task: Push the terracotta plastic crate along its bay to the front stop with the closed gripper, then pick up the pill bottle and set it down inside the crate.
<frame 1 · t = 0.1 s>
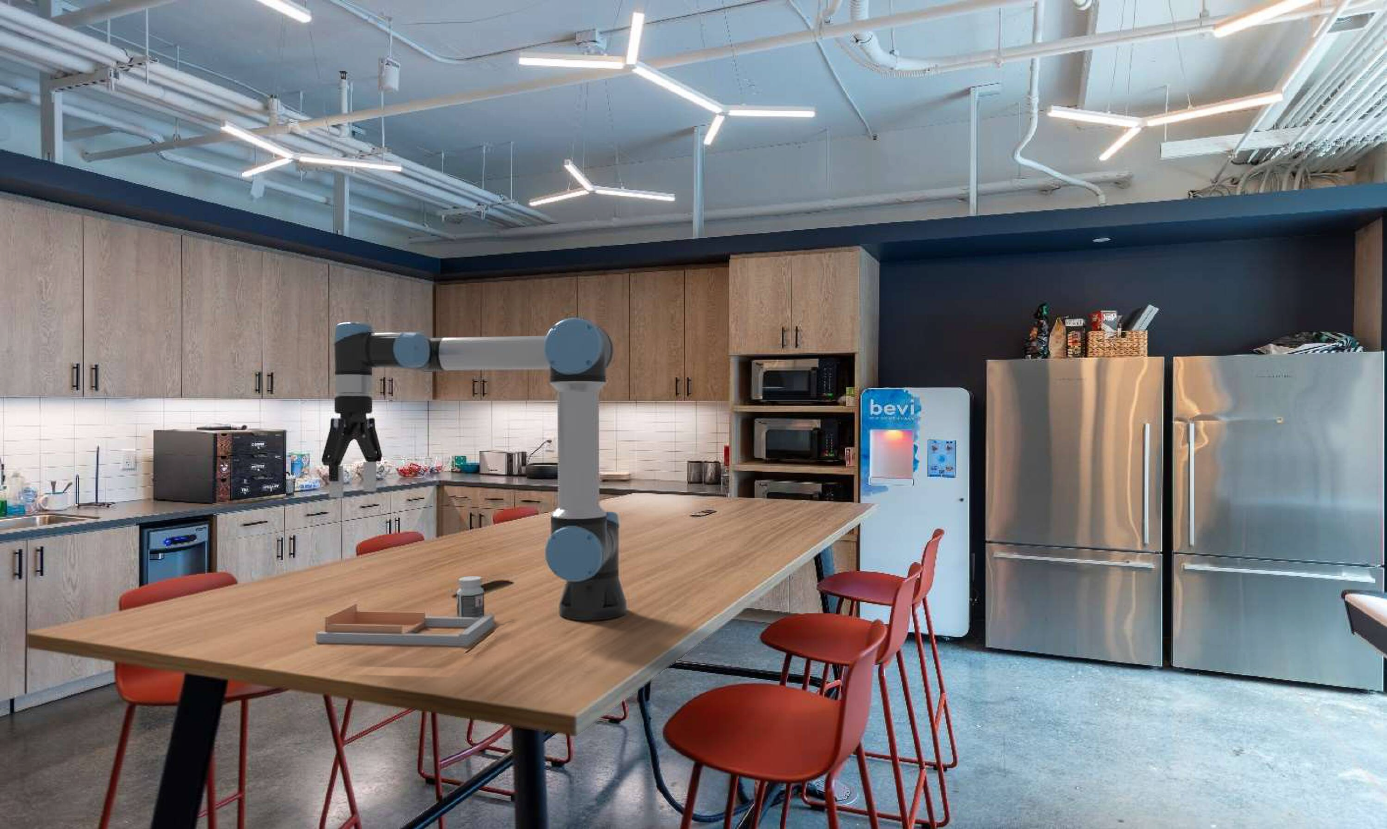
hand: (353, 494, 176), 28 cm above the table, fingers open, 13 cm apart
crate: (376, 621, 163), point 4 cm above the table, slide at 0.0 cm
pill bottle: (470, 625, 175), on the table
bay: (408, 640, 163), on the table
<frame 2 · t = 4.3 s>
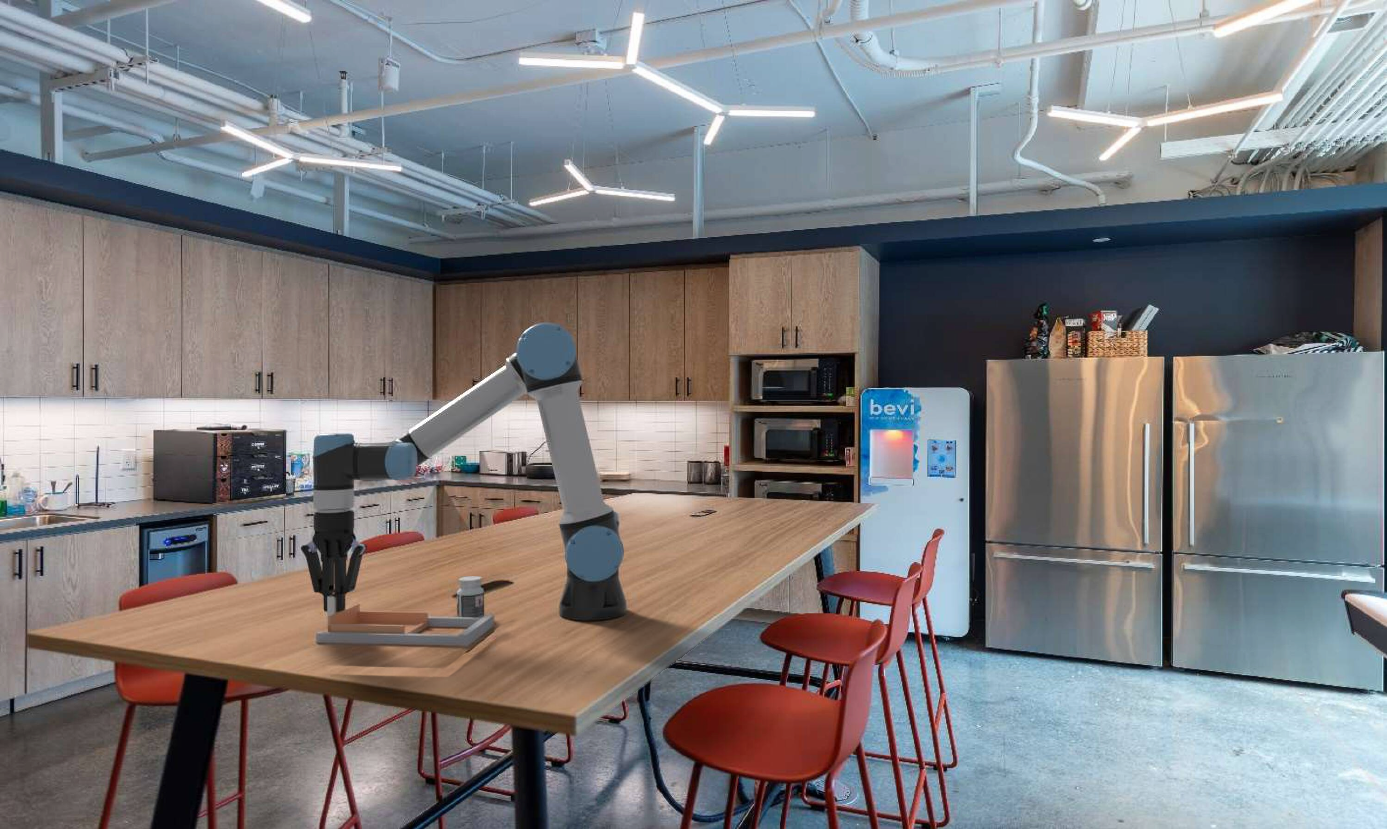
hand: (334, 627, 164), 2 cm above the table, fingers closed
crate: (379, 621, 163), point 4 cm above the table, slide at 0.6 cm, touching gripper
everything else where it was.
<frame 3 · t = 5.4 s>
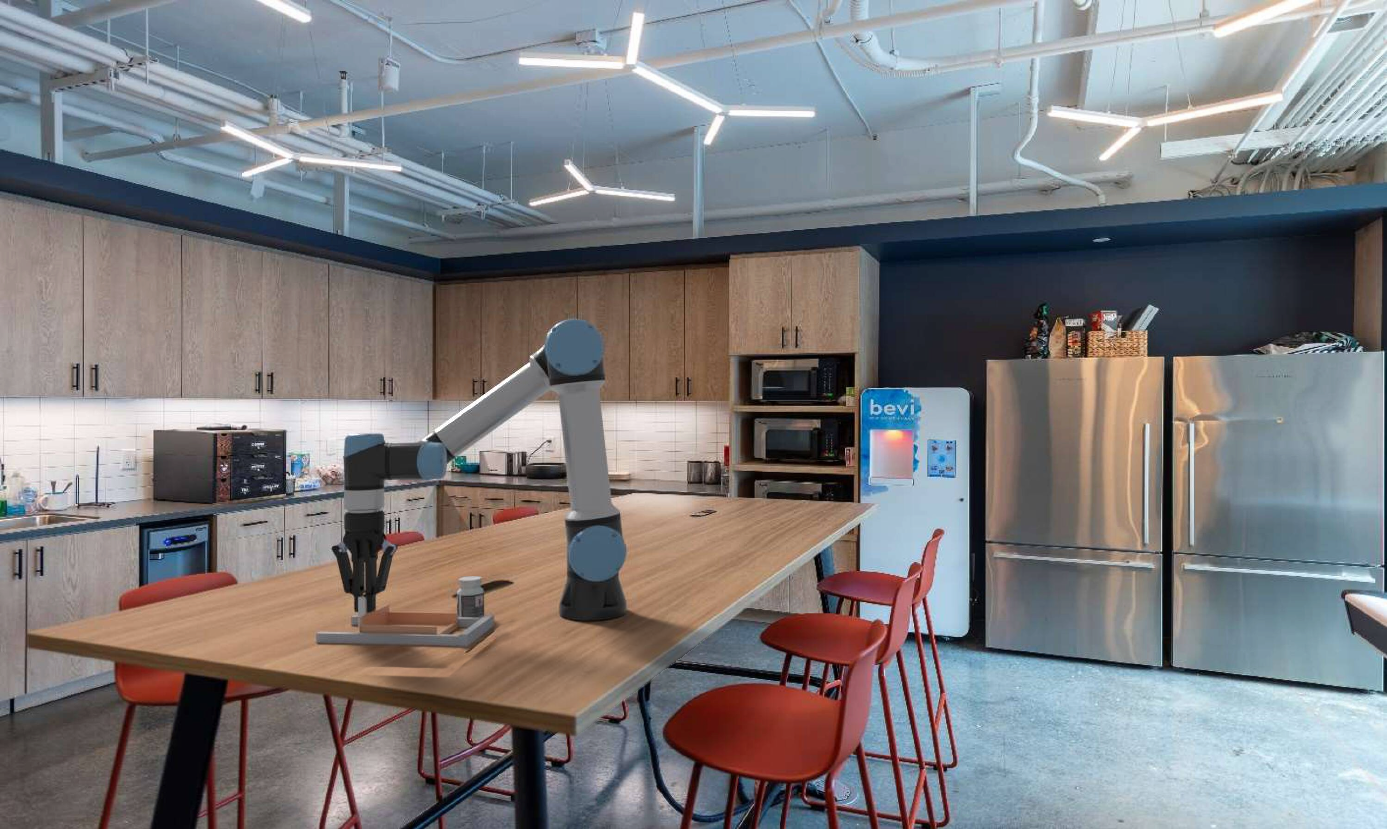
hand: (365, 628, 163), 2 cm above the table, fingers closed
crate: (410, 622, 163), point 4 cm above the table, slide at 7.0 cm, touching gripper
everything else where it was.
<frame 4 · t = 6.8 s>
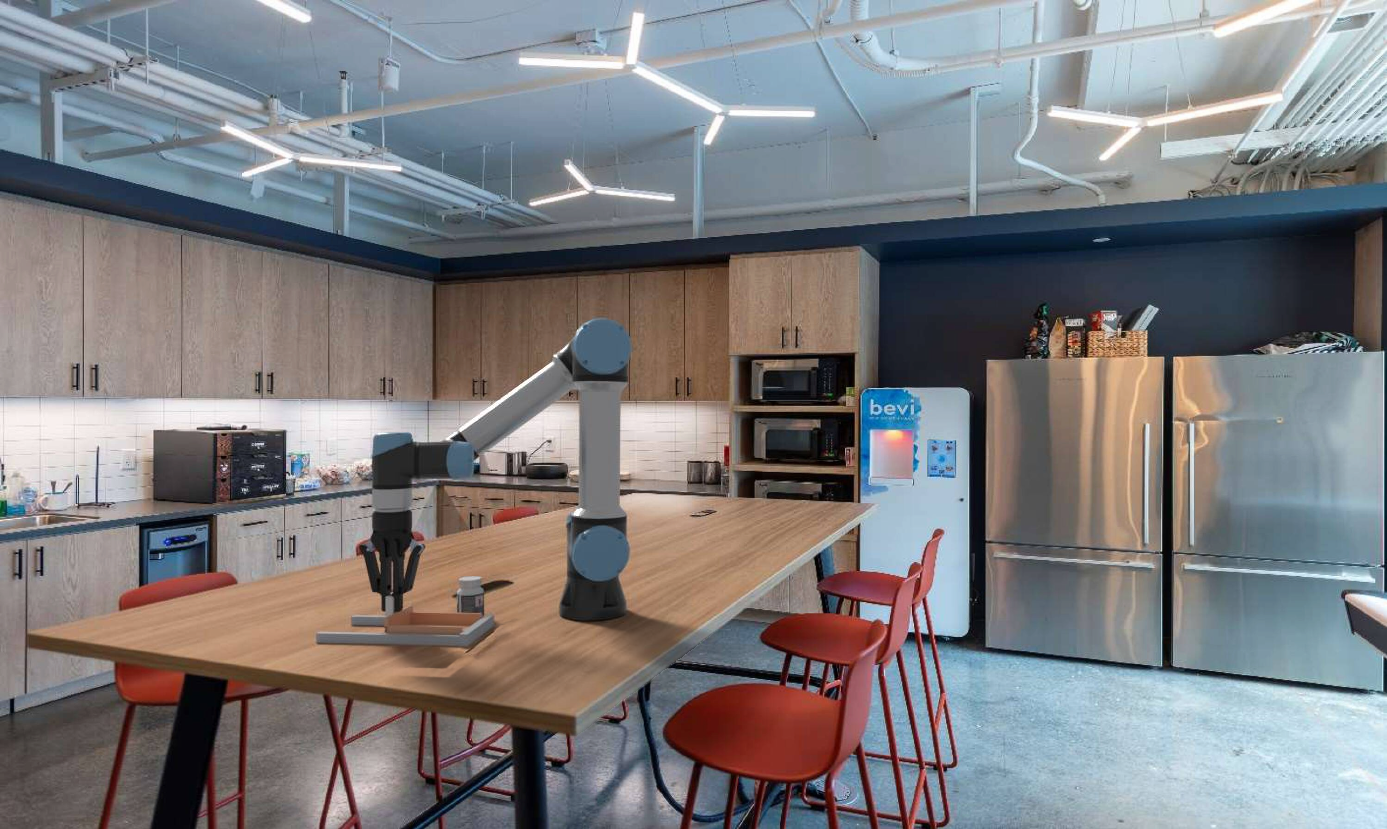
hand: (392, 627, 163), 2 cm above the table, fingers closed
crate: (434, 623, 162), point 4 cm above the table, slide at 12.0 cm, touching gripper
everything else where it was.
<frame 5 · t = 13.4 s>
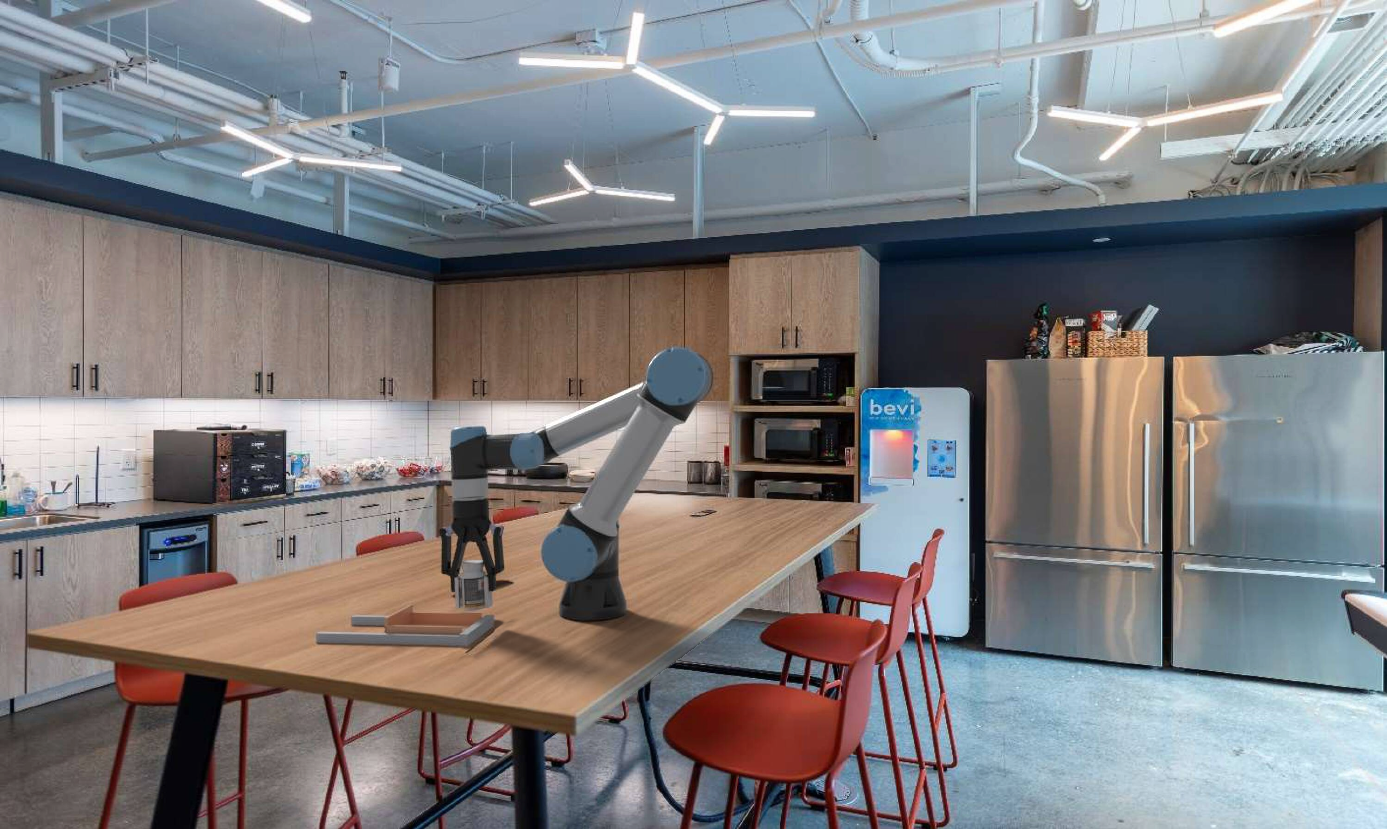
hand: (474, 606, 175), 4 cm above the table, fingers closed on pill bottle, 6 cm apart
crate: (434, 623, 162), point 4 cm above the table, slide at 12.0 cm
pill bottle: (474, 609, 175), point 3 cm above the table, touching gripper
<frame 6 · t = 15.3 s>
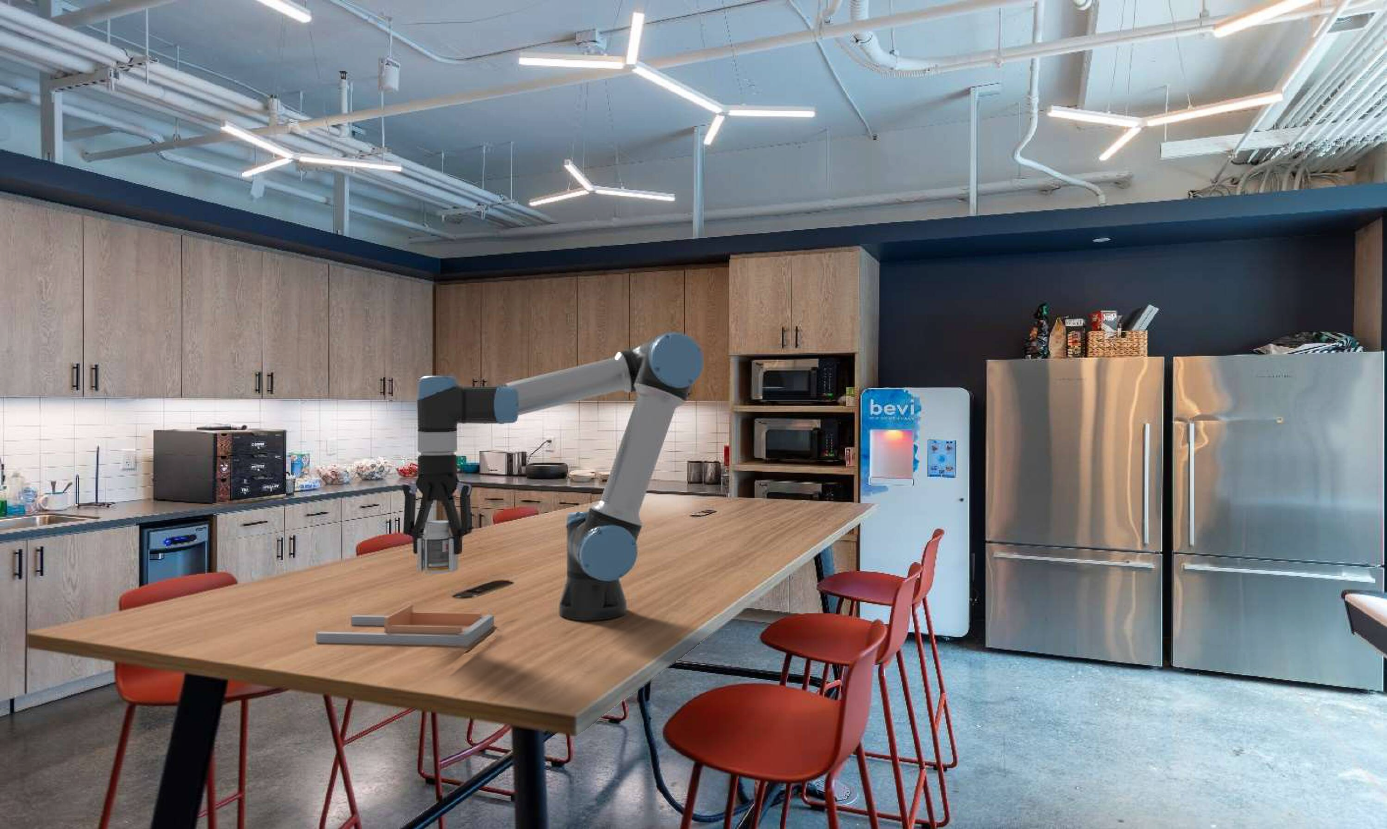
hand: (437, 570, 162), 14 cm above the table, fingers closed on pill bottle, 6 cm apart
pill bottle: (437, 572, 162), point 14 cm above the table, touching gripper
everything else where it was.
when the fingers open (3 cm above the table, at t = 17.4 s): pill bottle stays where it is, resting on crate.
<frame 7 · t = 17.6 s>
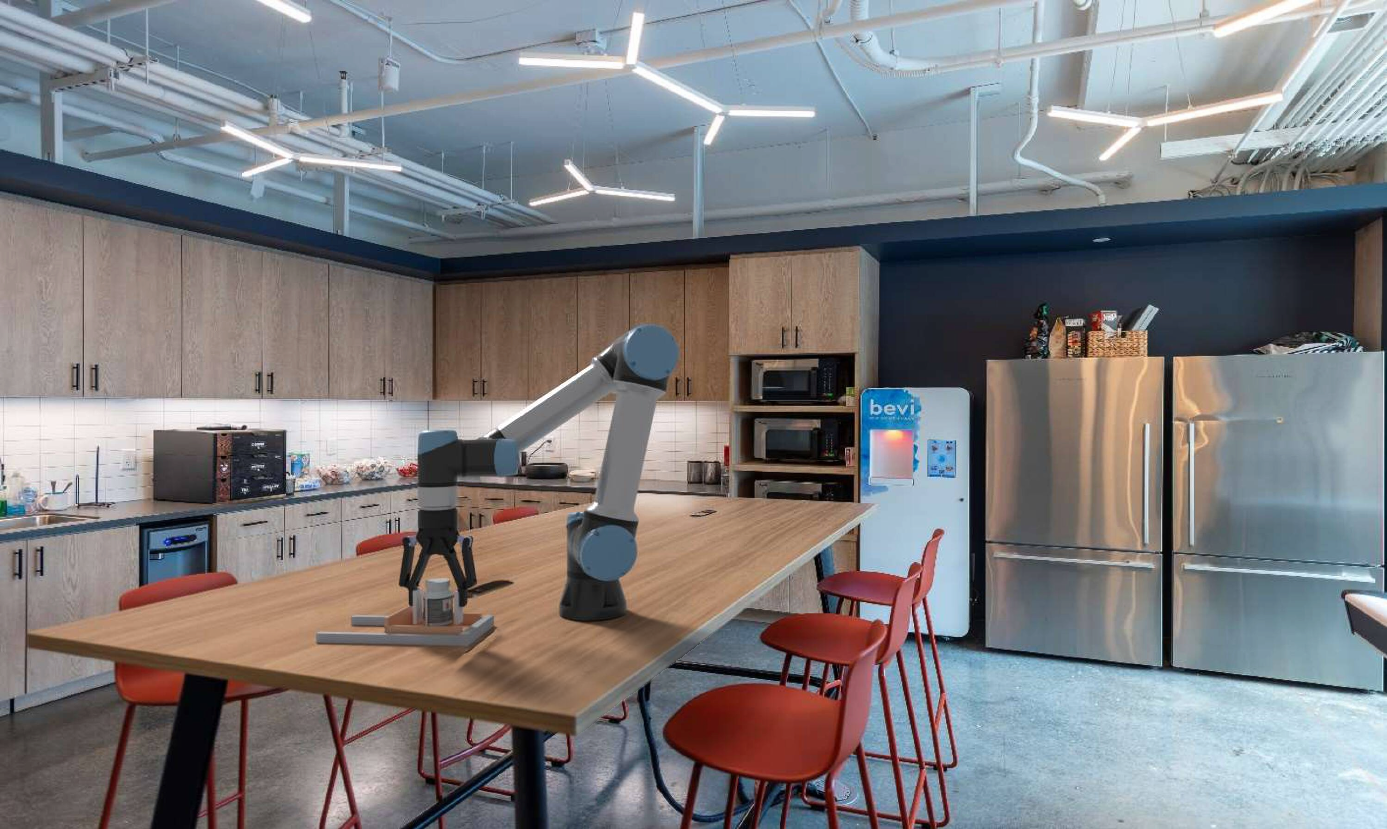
hand: (438, 622, 162), 4 cm above the table, fingers open, 8 cm apart
crate: (434, 623, 162), point 4 cm above the table, slide at 12.0 cm, touching pill bottle
pill bottle: (438, 631, 162), point 2 cm above the table, touching crate
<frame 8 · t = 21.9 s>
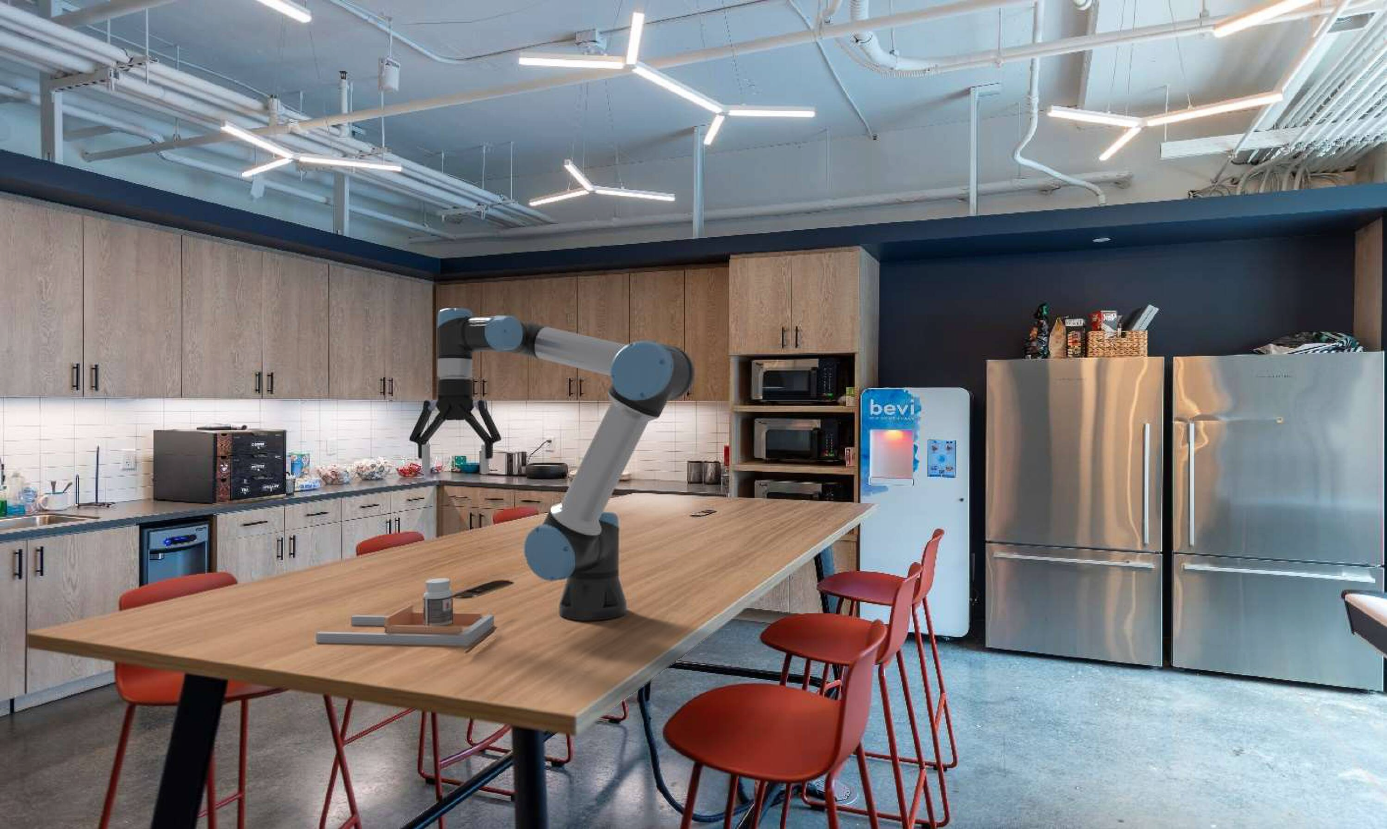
hand: (455, 473, 182), 32 cm above the table, fingers open, 13 cm apart
nothing on the table moved.
at the end: crate slide at 12.0 cm; pill bottle inside the target area on the crate (0.7 cm from its centre), point 0.6 cm above the crate's base; pill bottle tilted 0° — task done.
